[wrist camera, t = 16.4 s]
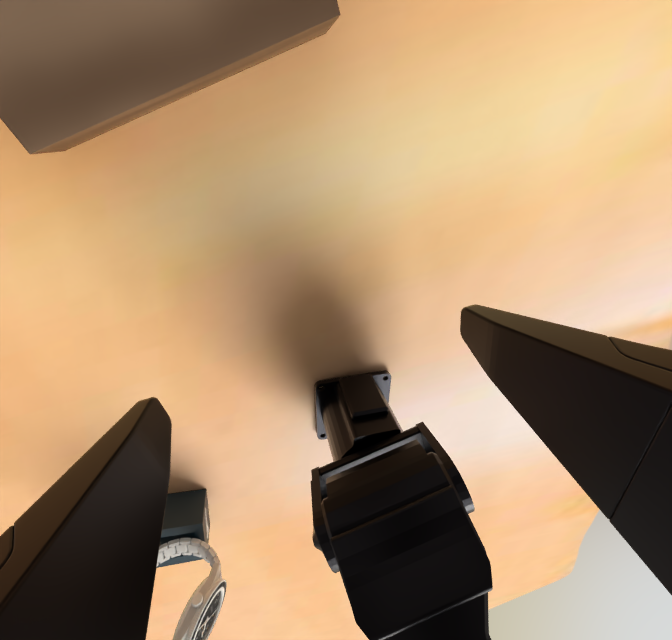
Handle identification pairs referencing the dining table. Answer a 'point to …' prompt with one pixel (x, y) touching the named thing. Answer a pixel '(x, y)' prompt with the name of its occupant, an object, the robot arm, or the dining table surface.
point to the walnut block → (131, 57)
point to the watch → (189, 545)
